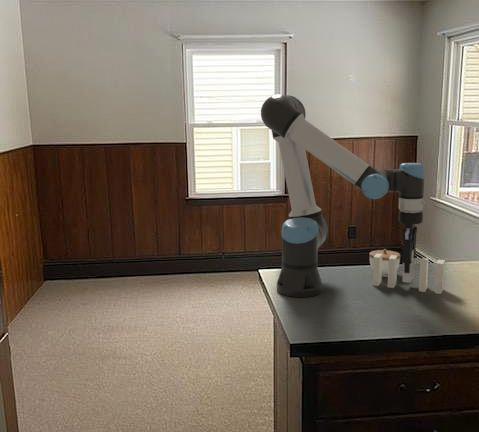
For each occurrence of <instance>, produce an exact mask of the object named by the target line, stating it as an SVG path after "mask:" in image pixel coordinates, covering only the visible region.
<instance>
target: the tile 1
mask: <svg viewBox="0 0 479 432" xmlns="http://www.w3.org/2000/svg"><path fill="white" fill-rule="evenodd" d="M382 256H383V254H376V255H375V256H374V257H373V270H372V286H373V287H380V285H381V284H382V281H383V280H382V279H383V277H382Z"/></svg>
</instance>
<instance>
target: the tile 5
mask: <svg viewBox="0 0 479 432" xmlns="http://www.w3.org/2000/svg"><path fill="white" fill-rule="evenodd" d="M445 262H446V260H445V259H438V260H437V261H436V271H435V286H434V289H435V290H434V293H435V294H438V295H442V294H443V291H444V280H445V279H444V278H445Z"/></svg>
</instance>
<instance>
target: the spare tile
mask: <svg viewBox="0 0 479 432" xmlns="http://www.w3.org/2000/svg"><path fill="white" fill-rule="evenodd" d="M413 256H414V250H412V259H411V261H412V278H411V282H412V280H413V279H414V278H413ZM408 283H410V282H407V284H408Z"/></svg>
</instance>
